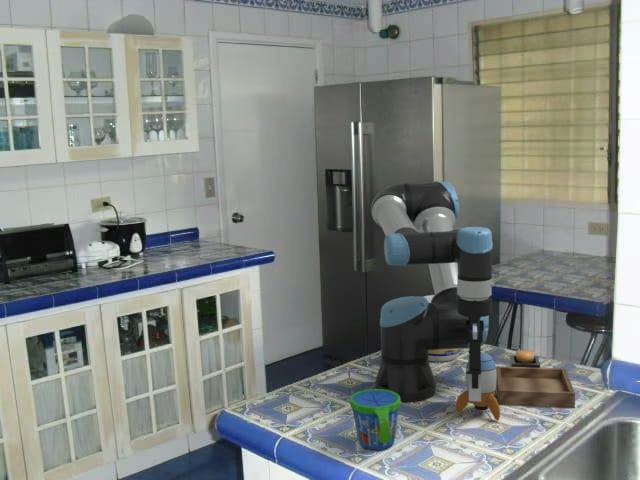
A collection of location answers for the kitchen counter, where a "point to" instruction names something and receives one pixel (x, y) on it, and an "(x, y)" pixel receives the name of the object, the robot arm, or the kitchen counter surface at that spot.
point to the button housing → (521, 364)
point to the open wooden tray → (534, 387)
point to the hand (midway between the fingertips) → (474, 394)
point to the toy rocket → (482, 388)
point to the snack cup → (375, 417)
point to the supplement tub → (442, 353)
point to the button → (525, 356)
